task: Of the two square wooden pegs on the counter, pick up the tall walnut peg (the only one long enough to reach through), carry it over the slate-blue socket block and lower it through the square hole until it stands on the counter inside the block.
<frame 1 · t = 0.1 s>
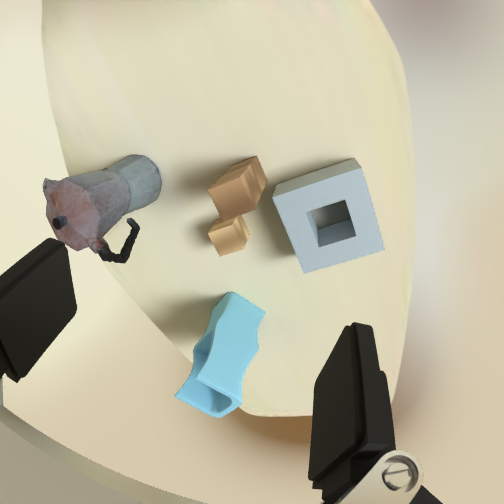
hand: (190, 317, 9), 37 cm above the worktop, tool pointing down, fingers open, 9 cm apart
walnut peg long: (249, 173, 45), on the worktop
socket block: (329, 208, 45), on the worktop
moka pot: (141, 180, 48), on the worktop
oak peg short: (233, 226, 49), on the worktop
vase: (236, 312, 58), on the worktop
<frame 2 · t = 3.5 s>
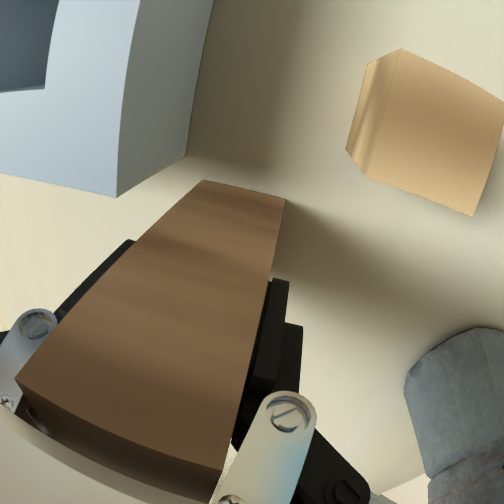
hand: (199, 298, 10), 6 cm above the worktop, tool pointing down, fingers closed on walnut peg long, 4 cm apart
walnut peg long: (236, 227, 15), on the worktop, touching gripper
socket block: (97, 33, 11), on the worktop
moka pot: (456, 363, 18), on the worktop
oak peg short: (399, 121, 12), on the worktop
when the fingers open (7 cm above the worktop, at t = 8.4 s): walnut peg long drops 1 cm, resting in socket block.
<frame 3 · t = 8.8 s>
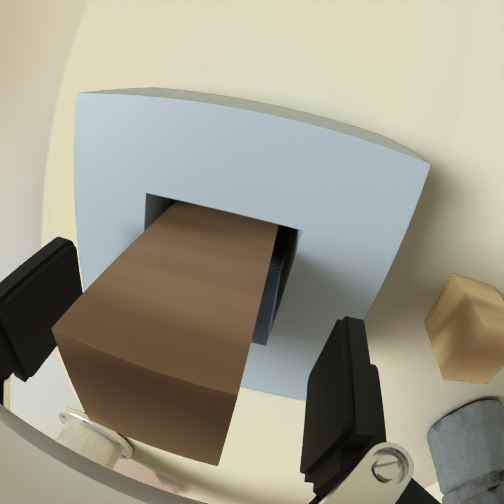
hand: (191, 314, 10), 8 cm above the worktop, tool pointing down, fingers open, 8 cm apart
walnut peg long: (241, 215, 17), resting in socket block
socket block: (242, 215, 17), on the worktop
moka pot: (463, 417, 23), on the worktop
oak peg short: (460, 304, 17), on the worktop
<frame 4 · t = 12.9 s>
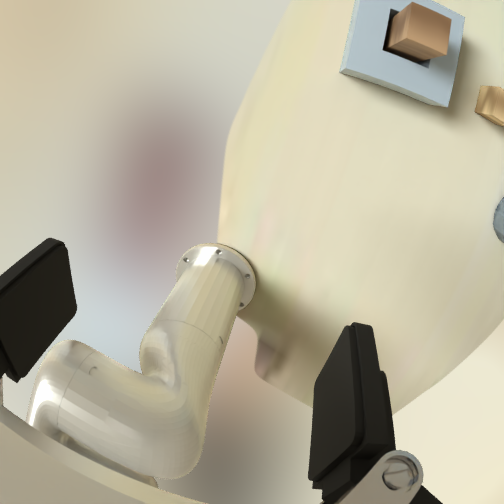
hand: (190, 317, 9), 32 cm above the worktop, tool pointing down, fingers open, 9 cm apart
walnut peg long: (395, 45, 28), resting in socket block
socket block: (395, 45, 28), on the worktop
oak peg short: (488, 105, 29), on the worktop
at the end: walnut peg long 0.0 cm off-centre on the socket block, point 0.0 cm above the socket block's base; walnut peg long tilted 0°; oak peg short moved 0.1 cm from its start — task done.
